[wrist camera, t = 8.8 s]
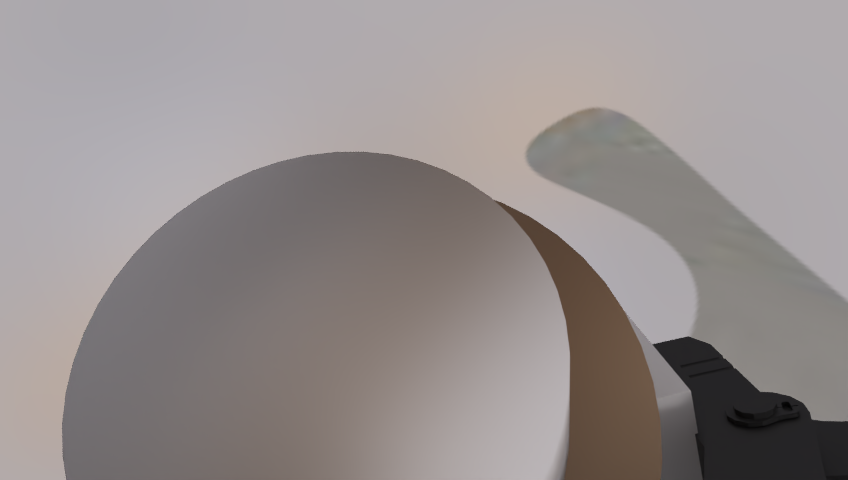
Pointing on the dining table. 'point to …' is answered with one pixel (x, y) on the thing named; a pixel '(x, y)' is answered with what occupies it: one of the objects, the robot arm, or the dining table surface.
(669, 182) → the dining table surface
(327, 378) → the pepper mill
